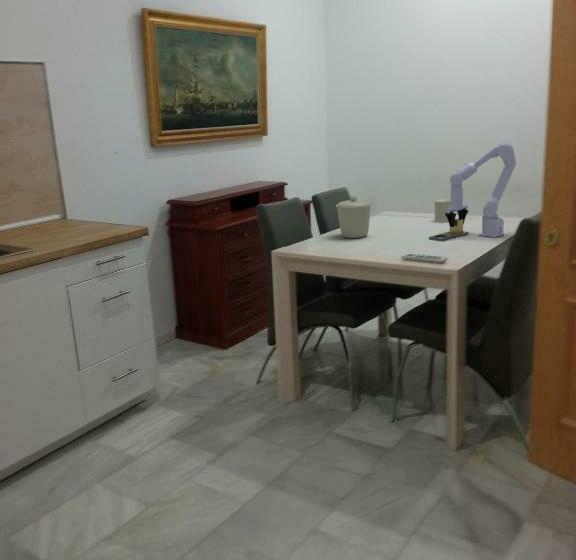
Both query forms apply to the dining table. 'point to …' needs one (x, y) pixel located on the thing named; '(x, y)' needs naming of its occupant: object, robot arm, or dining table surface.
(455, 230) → the block
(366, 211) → the canister
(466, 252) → the dining table surface
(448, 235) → the grey frame plate
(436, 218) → the can
